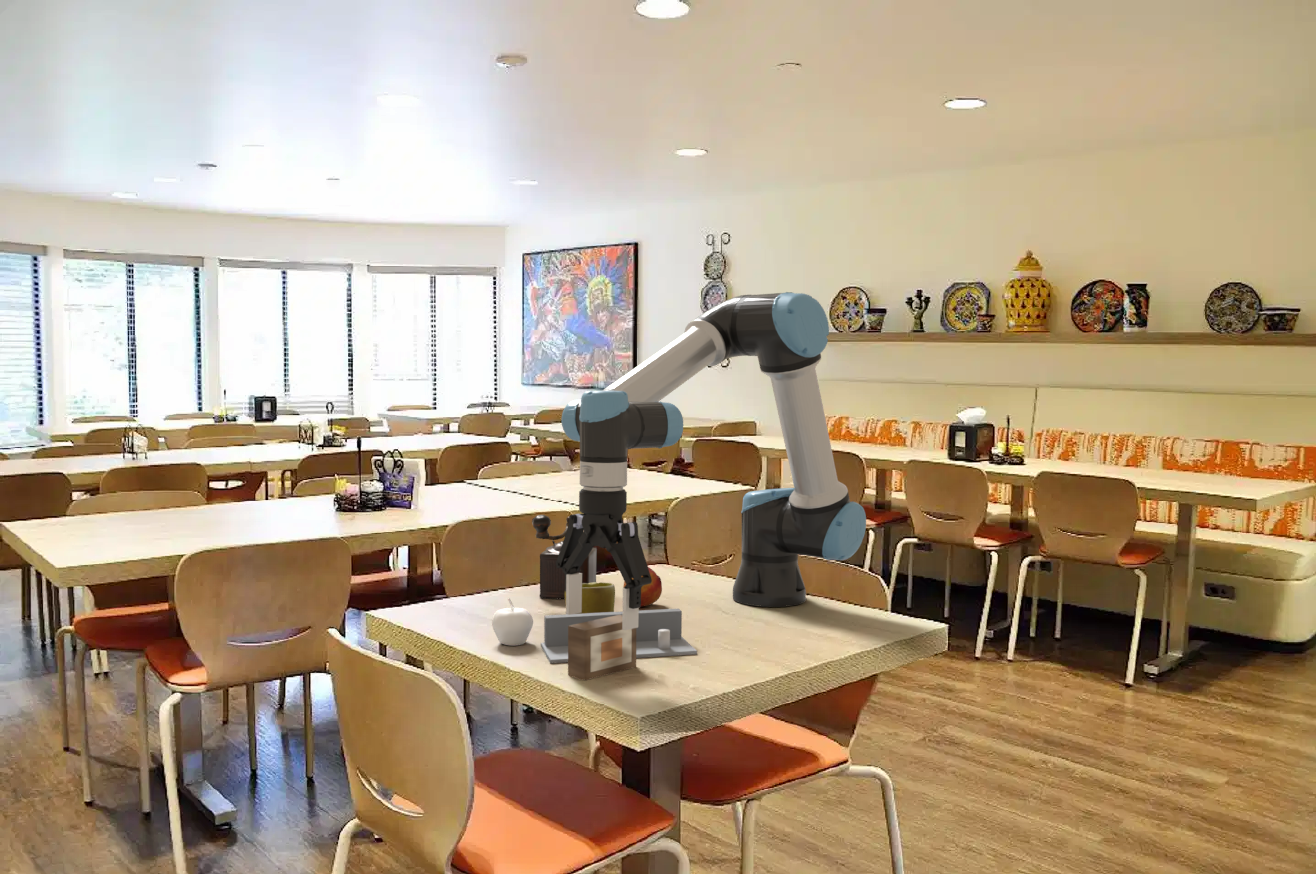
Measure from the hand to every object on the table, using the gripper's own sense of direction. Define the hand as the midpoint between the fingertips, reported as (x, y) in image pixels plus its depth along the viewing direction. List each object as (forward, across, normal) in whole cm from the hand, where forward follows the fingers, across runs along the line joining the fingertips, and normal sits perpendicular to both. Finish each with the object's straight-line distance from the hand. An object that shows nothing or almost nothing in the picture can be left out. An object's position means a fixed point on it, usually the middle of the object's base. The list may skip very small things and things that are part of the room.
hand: (601, 620), depth 174 cm
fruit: (+8, -29, +37) cm, 47 cm away
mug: (+8, -24, +19) cm, 32 cm away
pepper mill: (+8, -46, +30) cm, 56 cm away
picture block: (+8, 0, 0) cm, 8 cm away
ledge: (+8, -7, +11) cm, 15 cm away
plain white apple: (+8, -23, 0) cm, 25 cm away
